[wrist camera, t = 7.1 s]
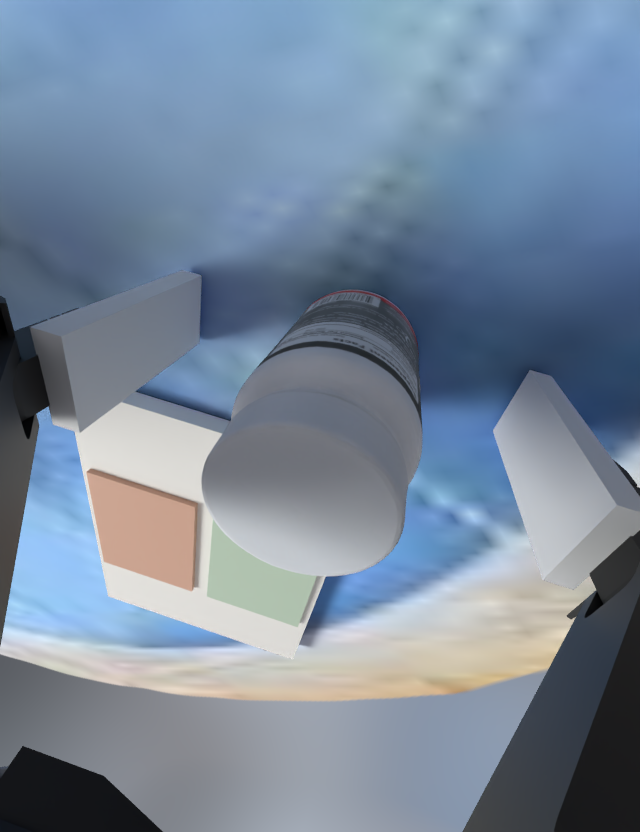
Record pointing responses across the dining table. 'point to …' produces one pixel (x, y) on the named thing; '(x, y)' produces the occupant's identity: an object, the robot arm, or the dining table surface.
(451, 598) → the dining table surface
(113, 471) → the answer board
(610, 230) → the dining table surface
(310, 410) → the pill bottle
